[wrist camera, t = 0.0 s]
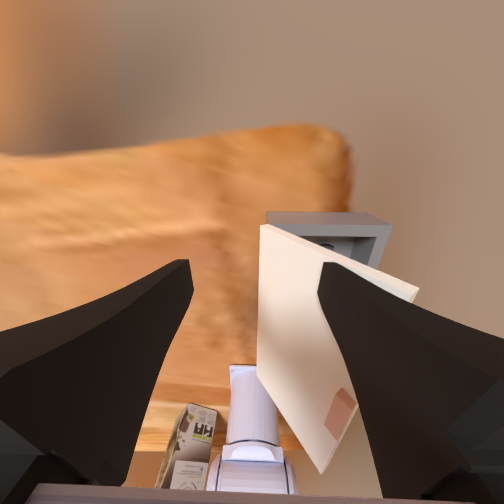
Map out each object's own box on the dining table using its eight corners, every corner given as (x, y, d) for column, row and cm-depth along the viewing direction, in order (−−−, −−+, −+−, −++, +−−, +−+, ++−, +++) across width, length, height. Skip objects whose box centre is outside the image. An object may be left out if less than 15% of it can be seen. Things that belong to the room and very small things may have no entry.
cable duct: (328, 345, 27) (338, 373, 24) (261, 343, 27) (261, 371, 24) (366, 212, 18) (393, 225, 15) (266, 211, 19) (268, 223, 15)
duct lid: (327, 467, 16) (316, 480, 16) (261, 371, 24) (252, 377, 23) (419, 288, 7) (405, 301, 7) (268, 223, 15) (254, 226, 14)
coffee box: (188, 401, 36) (141, 565, 21) (218, 410, 37) (193, 571, 22) (174, 420, 39) (126, 571, 25) (202, 428, 41) (171, 575, 26)
